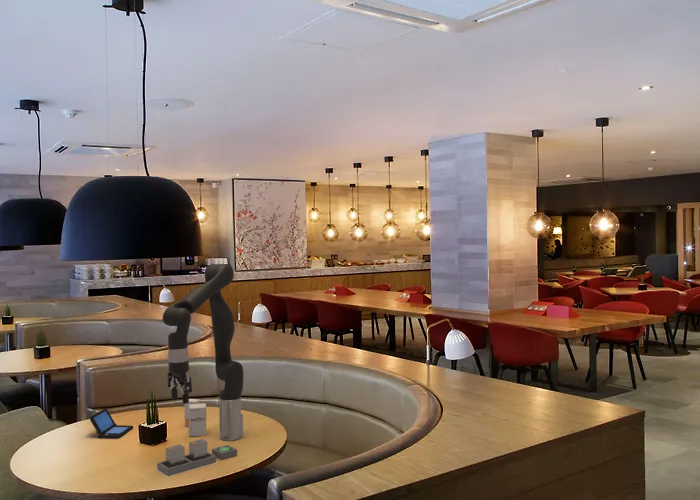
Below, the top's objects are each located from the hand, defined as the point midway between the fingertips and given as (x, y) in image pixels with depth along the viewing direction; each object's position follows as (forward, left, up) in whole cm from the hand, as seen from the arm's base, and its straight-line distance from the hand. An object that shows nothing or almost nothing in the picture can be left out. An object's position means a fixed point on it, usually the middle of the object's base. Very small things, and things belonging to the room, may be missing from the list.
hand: (180, 401), depth 234 cm
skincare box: (-25, -37, -23) cm, 51 cm away
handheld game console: (+6, -53, -24) cm, 58 cm away
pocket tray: (+2, +9, -23) cm, 25 cm away
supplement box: (-21, -25, -23) cm, 40 cm away
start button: (-14, +9, -22) cm, 27 cm away
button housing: (-14, +9, -23) cm, 29 cm away
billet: (+7, +9, -22) cm, 25 cm away
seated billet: (-3, +9, -22) cm, 24 cm away
